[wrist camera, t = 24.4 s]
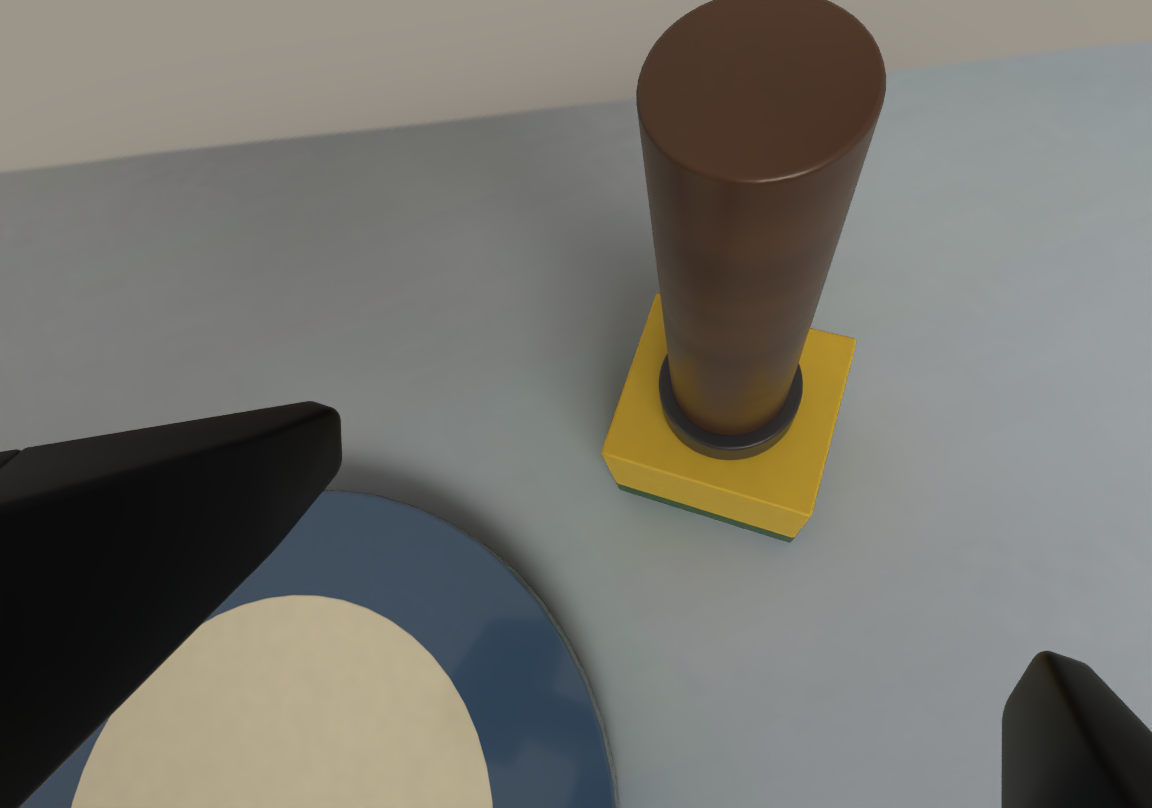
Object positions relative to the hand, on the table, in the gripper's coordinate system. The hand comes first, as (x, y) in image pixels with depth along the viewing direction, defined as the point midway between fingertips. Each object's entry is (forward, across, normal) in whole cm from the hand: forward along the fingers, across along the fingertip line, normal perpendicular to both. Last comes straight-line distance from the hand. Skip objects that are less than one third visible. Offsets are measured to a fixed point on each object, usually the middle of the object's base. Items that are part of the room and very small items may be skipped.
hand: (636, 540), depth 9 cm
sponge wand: (+11, 0, +5) cm, 12 cm away
